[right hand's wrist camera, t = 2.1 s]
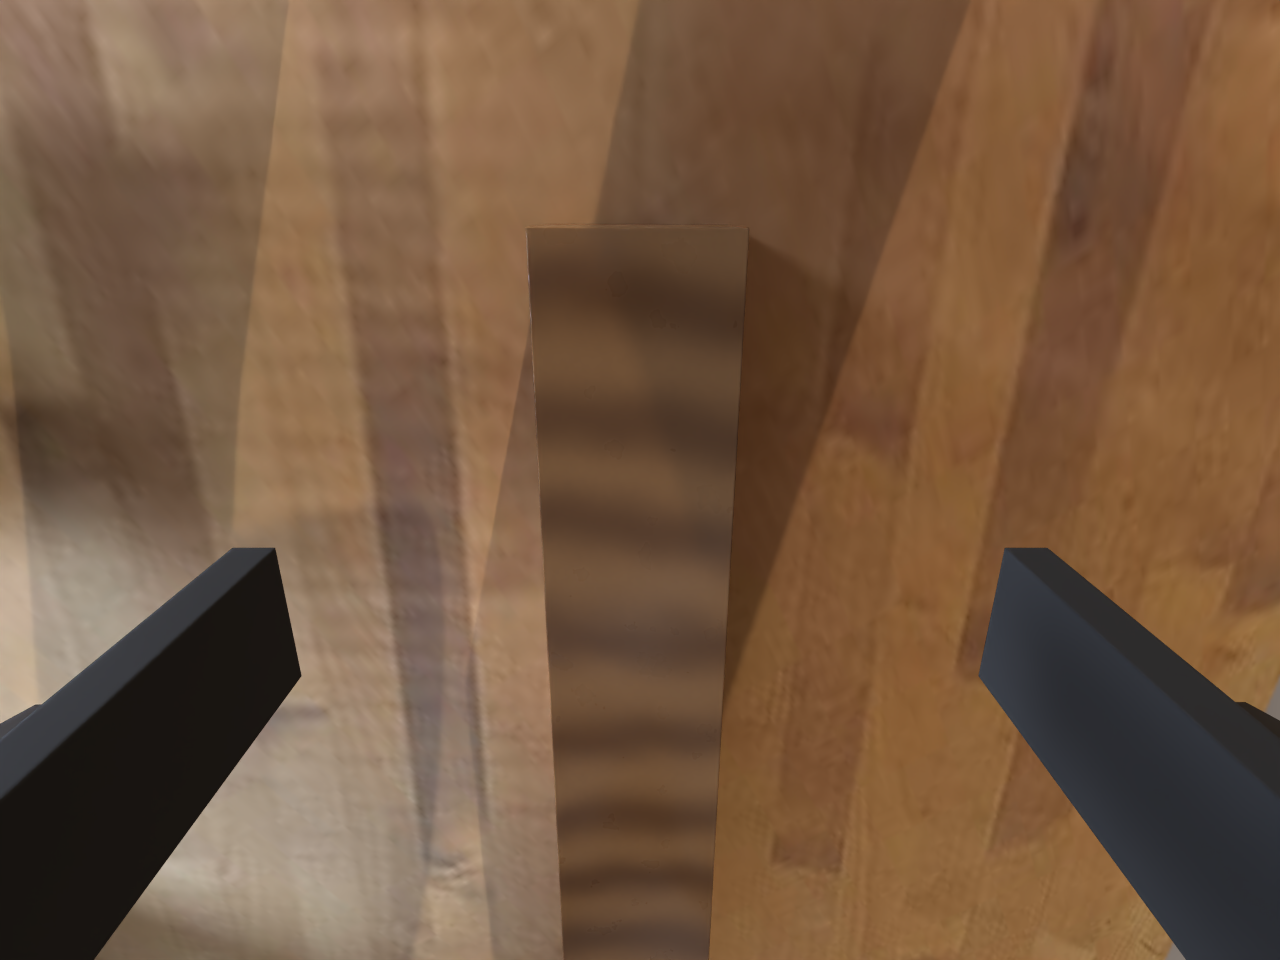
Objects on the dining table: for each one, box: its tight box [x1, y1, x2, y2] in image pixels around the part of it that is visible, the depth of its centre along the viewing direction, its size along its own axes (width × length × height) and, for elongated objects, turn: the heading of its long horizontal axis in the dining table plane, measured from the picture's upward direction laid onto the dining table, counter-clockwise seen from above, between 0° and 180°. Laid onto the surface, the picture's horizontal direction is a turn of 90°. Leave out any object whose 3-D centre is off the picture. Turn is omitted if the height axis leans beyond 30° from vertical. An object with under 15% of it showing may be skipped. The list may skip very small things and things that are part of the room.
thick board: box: [526, 224, 749, 960], centre depth 42 cm, size 60×9×7 cm, turn 0°
